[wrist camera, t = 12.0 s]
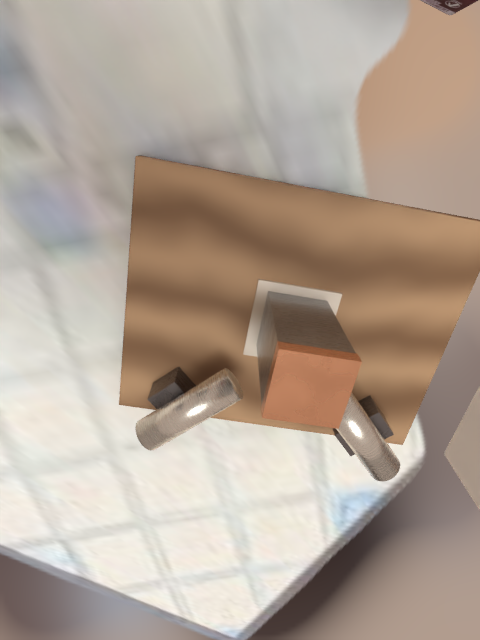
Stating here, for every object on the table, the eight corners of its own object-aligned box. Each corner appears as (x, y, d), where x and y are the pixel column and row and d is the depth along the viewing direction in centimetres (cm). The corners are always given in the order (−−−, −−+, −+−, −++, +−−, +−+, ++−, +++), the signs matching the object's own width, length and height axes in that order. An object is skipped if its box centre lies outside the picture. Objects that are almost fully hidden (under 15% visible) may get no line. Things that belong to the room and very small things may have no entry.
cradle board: (140, 155, 30) (134, 156, 28) (488, 221, 32) (502, 226, 31) (123, 395, 39) (118, 406, 37) (397, 434, 41) (403, 446, 40)
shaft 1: (219, 340, 35) (216, 373, 30) (247, 375, 36) (249, 412, 32) (140, 390, 37) (125, 428, 32) (170, 421, 39) (160, 463, 34)
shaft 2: (304, 384, 37) (314, 422, 32) (346, 360, 36) (364, 396, 31) (351, 446, 40) (367, 490, 35) (391, 426, 39) (413, 468, 34)
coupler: (267, 290, 33) (278, 349, 24) (327, 300, 33) (361, 361, 24) (255, 344, 35) (261, 417, 26) (312, 353, 35) (338, 428, 26)
